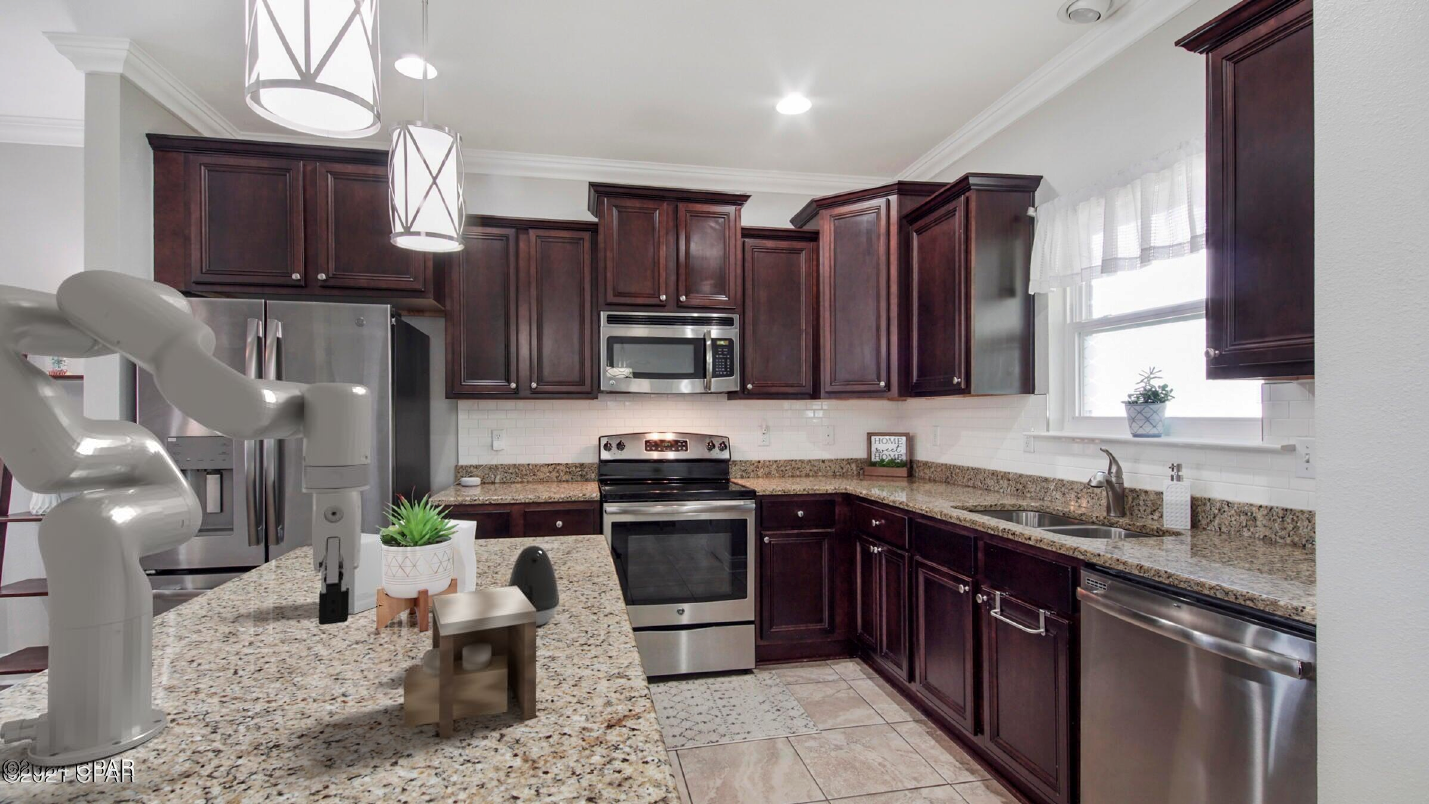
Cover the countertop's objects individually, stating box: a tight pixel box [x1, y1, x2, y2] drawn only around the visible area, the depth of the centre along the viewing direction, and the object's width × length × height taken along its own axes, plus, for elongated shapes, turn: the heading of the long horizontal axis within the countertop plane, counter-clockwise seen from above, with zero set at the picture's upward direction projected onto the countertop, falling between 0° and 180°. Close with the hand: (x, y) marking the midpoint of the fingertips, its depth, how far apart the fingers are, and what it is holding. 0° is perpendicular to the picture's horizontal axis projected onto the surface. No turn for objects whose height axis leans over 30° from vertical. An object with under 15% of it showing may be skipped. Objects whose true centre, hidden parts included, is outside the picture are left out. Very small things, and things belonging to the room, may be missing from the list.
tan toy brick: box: [403, 643, 508, 728], centre depth 88 cm, size 13×6×8 cm, turn 109°
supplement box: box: [346, 532, 382, 615], centre depth 136 cm, size 9×9×15 cm
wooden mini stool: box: [431, 586, 537, 740], centre depth 89 cm, size 12×14×14 cm
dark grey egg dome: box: [507, 545, 560, 627], centre depth 125 cm, size 10×10×15 cm
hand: (333, 621), depth 81 cm, fingers closed
